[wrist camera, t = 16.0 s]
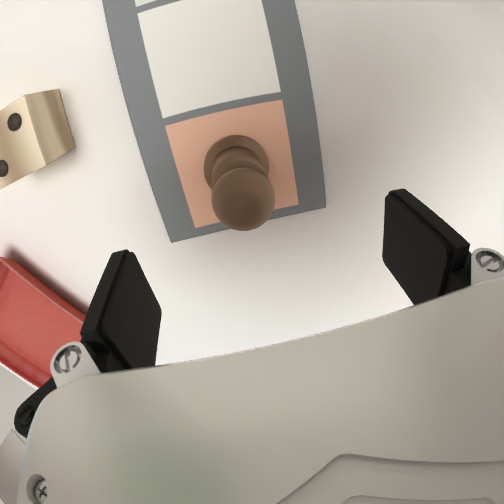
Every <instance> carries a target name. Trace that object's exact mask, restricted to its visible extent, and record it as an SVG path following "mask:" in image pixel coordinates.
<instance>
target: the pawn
mask: <svg viewBox="0 0 504 504" xmlns="http://www.w3.org/2000/svg"><path fill="white" fill-rule="evenodd" d="M268 174H269V161H268V158H267V155H266V153H265V152H264V150H263V149H262V147H261V146H260V145H259V144H258V143H257V142H256V141H255V140H253V139H251V138H249V137H246V136H243V135H230V136H226V137H224V138H221V139H220V140H218V141H216V142H215V143H214V144H213V145H212V146H211V147H210V149H209V150H208V152H207V154H206V157H205V161H204V176H205V179H206V182H207V184H208V185H209V187H210V188H211V189H212V191H211V193H212V196H211V202H212V208H213V211H214V213H215V215H216V217H217V218H218V219H219V220H220V221H221V222H222V223H223V224H224V225H225V226H227V227H229V228H231V229H234V230H239V231H248V230H252V229H255V228H258V227H259V226H261V225H262V224H264V223H265V222H266V221H267V220H268V219H269V217H270V216H271V214H272V212H273V209H274V206H275V193H274V189H273V186H272V184H271V183H270V180H269V178H268Z"/></svg>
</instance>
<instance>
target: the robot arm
mask: <svg viewBox="0 0 504 504" xmlns="http://www.w3.org/2000/svg"><path fill="white" fill-rule="evenodd" d="M469 247H470V244H469V243H468V242H467V241H466V240H465V239H464V238H463V237H462V236H461V235H460V234H459V233H457V232H456V231H455V230H454V229H453V228H452V227H451V226H450V225H448V224H447V223H446V222H445V221H444V220H443V219H441V218H440V217H439V216H438V215H437V214H435V213H434V212H433V211H432V210H431V209H429V208H428V207H427V206H426V205H425V204H423V203H422V202H421V201H420V200H418V199H417V198H416V197H415V196H413V195H412V194H411V193H409V192H408V191H407V190H406V189H398V190H392V191H390V192H389V194H388V195H387V196H386V197H385V215H384V237H383V252H382V257H383V261H384V263H385V265H386V266H387V268H388V269H389V270H390V272H391V273H392V275H393V276H394V277H395V279H396V280H397V281H398V283H399V284H400V286H401V287H402V288H403V290H404V291H405V293H406V294H407V296H408V297H409V298H410V300H411V301H412V303H413V304H414V305H413V306H410V307H407V308H404V309H401V310H398V311H395V312H392V313H389V314H386V315H382V316H379V317H376V318H373V319H369V320H366V321H362V322H359V323H355V324H352V325H348V326H345V327H341V328H338V329H334V330H330V331H326V332H323V333H319V334H315V335H311V336H307V337H303V338H299V339H295V340H291V341H286V342H282V343H278V344H273V345H269V346H264V347H259V348H255V349H250V350H245V351H240V352H235V353H230V354H225V355H219V356H214V357H208V358H202V359H196V360H190V361H184V362H177V363H171V364H164V365H157V366H155V361H156V352H157V344H158V337H159V329H160V322H161V314H162V313H161V308H160V305H159V303H158V301H157V299H156V297H155V295H154V293H153V291H152V289H151V287H150V285H149V283H148V281H147V279H146V277H145V275H144V273H143V271H142V268H141V266H140V264H139V262H138V260H137V258H136V256H135V254H134V253H133V252H129V251H128V250H127V249H126V250H122V251H118V252H114V253H112V255H111V257H110V259H109V261H108V263H107V266H106V268H105V270H104V273H103V275H102V277H101V280H100V282H99V284H98V287H97V289H96V292H95V294H94V297H93V299H92V302H91V304H90V307H89V309H88V312H87V315H86V317H85V320H84V323H83V325H82V328H81V331H80V335H81V336H82V338H81V341H80V342H70V343H67V344H65V345H63V346H62V347H61V348H59V349H58V350H57V351H56V353H55V354H54V356H53V357H52V360H51V363H50V370H51V373H52V377H51V378H50V379H49V380H48V381H47V382H46V383H45V384H43V385H42V386H41V387H40V388H39V389H38V390H37V391H36V392H35V393H33V394H32V395H31V396H30V397H29V398H28V399H27V400H26V401H24V402H23V403H22V404H21V405H20V406H19V408H18V409H17V411H16V414H15V419H14V425H15V429H16V430H15V432H14V431H13V430H12V429H11V431H10V432H9V434H8V435H7V437H6V438H5V440H4V441H3V443H2V444H1V446H0V498H1V499H2V501H3V502H4V503H5V504H504V256H503V255H501V254H500V253H499V252H497V251H495V250H492V249H489V248H478V249H476V250H474V252H473V253H472V254H471V253H470V252H469Z"/></svg>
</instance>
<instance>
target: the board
mask: <svg viewBox="0 0 504 504" xmlns="http://www.w3.org/2000/svg"><path fill="white" fill-rule="evenodd" d="M102 1H103V7H104V12H105V17H106V22H107V27H108V32H109V36H110V41H111V46H112V50H113V54H114V59H115V63H116V67H117V71H118V75H119V79H120V83H121V87H122V91H123V94H124V98H125V102H126V105H127V109H128V113H129V116H130V120H131V123H132V127H133V130H134V133H135V137H136V140H137V143H138V147H139V150H140V153H141V156H142V159H143V163H144V166H145V169H146V172H147V175H148V178H149V181H150V184H151V187H152V190H153V193H154V196H155V199H156V202H157V205H158V208H159V210H160V213H161V216H162V219H163V222H164V224H165V227H166V230H167V233H168V235H169V238H170V241H171V243H173V242H177V241H181V240H185V239H189V238H193V237H197V236H201V235H206V234H210V233H214V232H218V231H222V230H227V229H231V228H229V227H227V226H225V225H224V224H223V223H222V222H221V221H220V220H219V219H218V218H217V217H216V215H215V213H214V211H213V208H212V202H211V196H212V193H211V191H212V189H211V188H210V187H209V185H208V184H207V182H206V179H205V176H204V161H205V157H206V154H207V152H208V150H209V149H210V147H211V146H212V145H213V144H214V143H215V142H216V141H218V140H220V139H221V138H224V137H226V136H230V135H243V136H246V137H249V138H251V139H253V140H255V141H256V142H257V143H258V144H259V145H260V146H261V147H262V149H263V150H264V152H265V153H266V155H267V158H268V161H269V174H268V178H269V180H270V183H271V184H272V186H273V189H274V193H275V206H274V209H273V212H272V214H271V216H270V217H269V219H268V220H270V219H274V218H279V217H283V216H288V215H293V214H297V213H302V212H306V211H311V210H316V209H320V208H325V207H326V199H325V188H324V178H323V169H322V160H321V151H320V143H319V135H318V128H317V121H316V114H315V107H314V100H313V94H312V88H311V82H310V76H309V70H308V65H307V59H306V54H305V49H304V44H303V39H302V34H301V29H300V24H299V20H298V15H297V11H296V6H295V2H294V0H102Z"/></svg>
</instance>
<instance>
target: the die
mask: <svg viewBox="0 0 504 504" xmlns="http://www.w3.org/2000/svg"><path fill="white" fill-rule="evenodd" d="M75 147H76V146H75V143H74V140H73V137H72V133H71V130H70V127H69V124H68V120H67V117H66V113H65V110H64V106H63V103H62V99H61V95H60V92H59V89H56V90H50V91H44V92H38V93H33V94H27V95H24V96H22V97H21V98H19V99H18V100H16V101H14V102H13V103H11V104H10V105H8V106H7V107H5V108H4V109H3V110H1V111H0V190H1V189H2V188H4V187H6V186H8V185H9V184H11V183H13V182H15V181H17V180H19V179H21V178H22V177H24V176H26V175H28V174H30V173H32V172H34V171H36V170H38V169H40V168H42V167H44V166H46V165H48V164H49V163H51V162H52V161H54V160H56V159H57V158H59V157H60V156H62V155H63V154H65V153H67V152H68V151H70V150H72V149H73V148H75Z"/></svg>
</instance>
